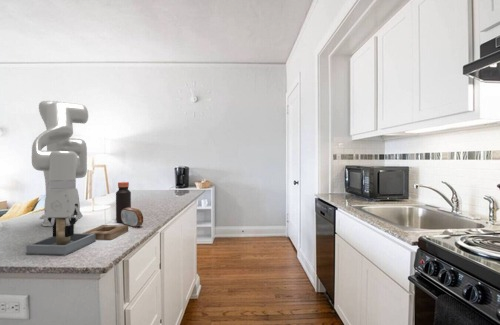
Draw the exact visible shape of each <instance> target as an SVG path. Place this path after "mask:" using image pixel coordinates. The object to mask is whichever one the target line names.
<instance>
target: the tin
mask: <svg viewBox="0 0 500 325" xmlns="http://www.w3.org/2000/svg"><path fill="white" fill-rule="evenodd" d="M121 220H122V222H123V223H122V224H124V225H128V227H133V228H137V227H141V226H142V225H143V223H144V215H143V213H142V211H141V210H140V209H139V208H134V207H131V208H130V207H127V208H124V209H122V211H121Z"/></svg>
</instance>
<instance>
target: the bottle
mask: <svg viewBox="0 0 500 325" xmlns="http://www.w3.org/2000/svg"><path fill="white" fill-rule="evenodd" d="M129 187H130V184H129V182H128V181H121V182H117V188H118V190H117V191H116V192H115V222H116V223H118V224H124V223H123V222H122V220H121V211H122V209H124V208H127V207H130V208H132V192H131V190H130V189H129Z"/></svg>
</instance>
